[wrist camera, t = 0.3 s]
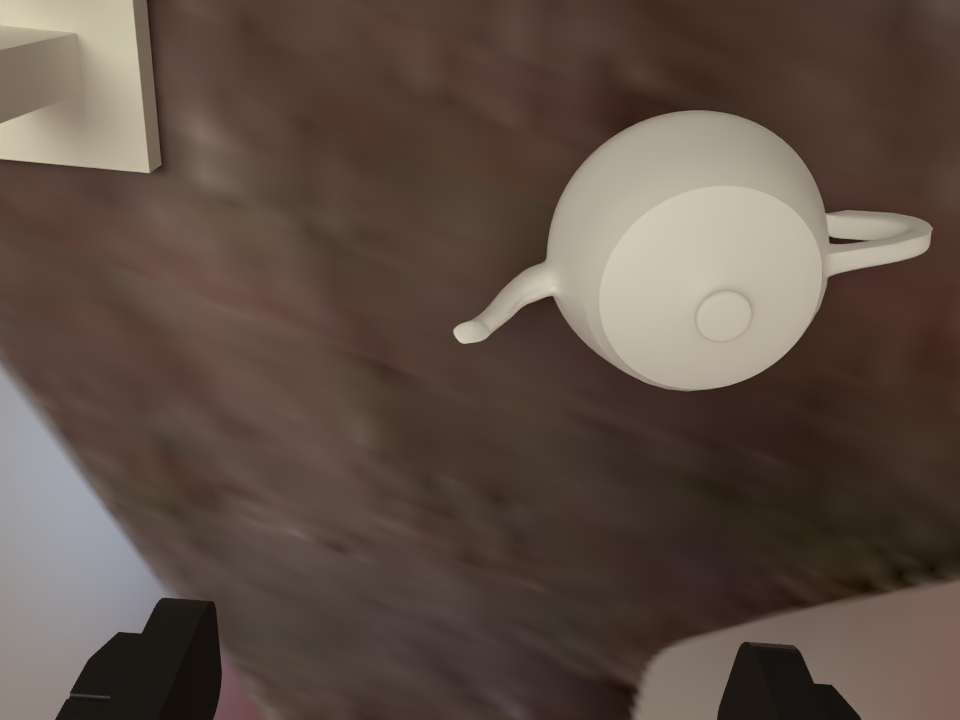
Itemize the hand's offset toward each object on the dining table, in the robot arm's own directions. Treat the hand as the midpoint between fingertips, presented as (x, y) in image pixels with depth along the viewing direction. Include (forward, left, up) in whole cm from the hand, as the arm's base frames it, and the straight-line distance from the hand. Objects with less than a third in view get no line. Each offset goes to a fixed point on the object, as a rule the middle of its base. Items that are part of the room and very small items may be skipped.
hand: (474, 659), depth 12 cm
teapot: (+2, +9, -29) cm, 30 cm away
